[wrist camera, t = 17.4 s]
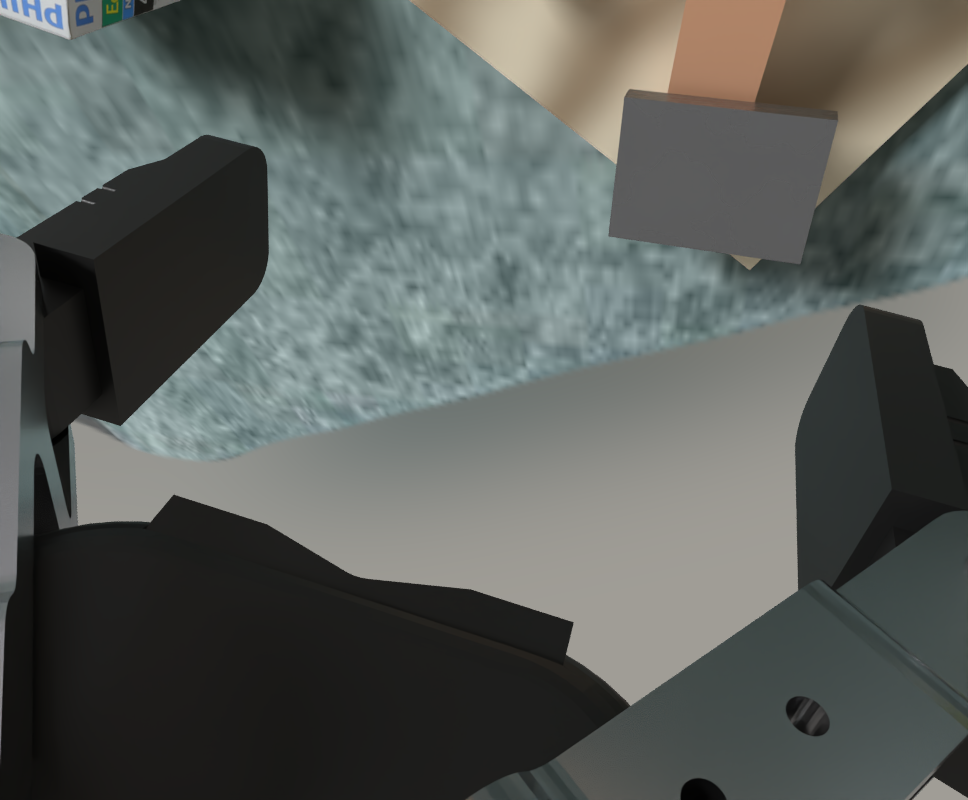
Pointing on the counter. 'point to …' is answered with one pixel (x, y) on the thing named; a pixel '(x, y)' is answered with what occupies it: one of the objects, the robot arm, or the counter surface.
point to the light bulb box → (76, 13)
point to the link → (724, 47)
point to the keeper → (719, 174)
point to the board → (786, 79)
